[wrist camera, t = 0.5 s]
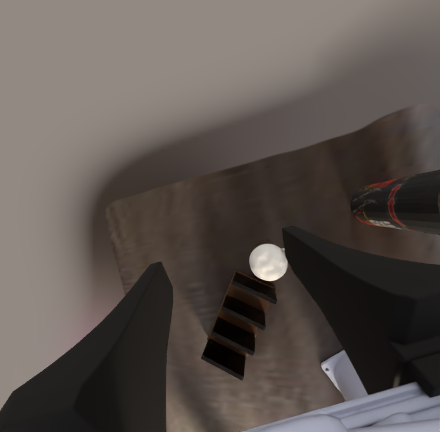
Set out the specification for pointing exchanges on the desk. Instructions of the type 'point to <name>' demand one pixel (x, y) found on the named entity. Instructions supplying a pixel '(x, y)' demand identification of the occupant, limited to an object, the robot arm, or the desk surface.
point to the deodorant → (401, 203)
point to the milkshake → (268, 261)
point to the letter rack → (238, 323)
